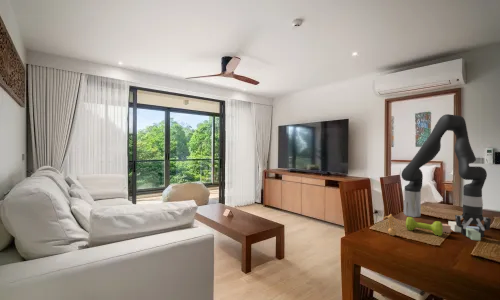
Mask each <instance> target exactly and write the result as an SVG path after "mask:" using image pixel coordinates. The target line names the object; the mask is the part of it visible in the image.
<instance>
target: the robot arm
mask: <svg viewBox="0 0 500 300" xmlns="http://www.w3.org/2000/svg"><path fill="white" fill-rule="evenodd" d="M447 131H450V132H453V133H454V135H455V139H456V141H455V145H454V153H455V156H456V159H457V160H458V161H457V162H458V176H459V177H460V178H461V179H462V180H466V181H471V182H470V183H467V184H464V185H463V187H462V188H463V192H462V193H463V195H462V214H461V215H460V214H459V215H458V214H455V215H454V217H455V222H456V225H457V226H459V227H461V232H460V233H461V234H462V236H465V237H467V236H466V227H467V226H470V225H476V226H477V227H479V233H481V238H484V237H485V231H486V230H487V231H489V230H490V228H491V222H492V219H491V218H489V217H488V216H483V215H484V213H483V210H484V209H483V208H484V207H483V206H484V203H483V201H484V200H483V187H484V184H485V182H486V180H487V175H488V174H487V170H486V169H485V168H484V167H482V166H470V164H472V163H475V162H476V160H477V158H476V155H475V153H474V151H473V148H472V147H471V146H472V145H471V142H470V137H469V134H468V129H467V123H466V119H465V118H464V117H463V116H462V115H458V114H457V115H456V114H443V115H442V116H440V117H439V119H438V121H437V122H436V124H435V125H434V128H433V129H432V131H431V133H430V134H429V136H428V137H427V139H426V140H425V141H424V143H423V144H422V145H421V147H420V148H419V149H418V151H417V152H416V154H415V155H414V156H413V158H412V159H411V161H410V162H409V163H408V164H407V165H406V166H405V167H404V168H403V169H402V171H401V178H402V180H403V181H406V182H409V183H408V184H406V185H405V186H404V200H403V214H404V216H406V217H412V218H420V217H421V216H422V215H421V214H422V213H421V211H422V207H421V206H422V205H421V204H422V203H421V201H422V200H421V198H422V197H421V196H422V195H421V194H422V191H421V190H422V188H423V179H424V178H423V177H424V176H423V172H422V170H421V168H422V167H423V166H425V165H427V163H430V162H431V161H432V160H434V159H435V158H436V156H437V155H438V154H439V152H440V151H441V147H442V144H441V141H442V138H443V136H444V135H445V133H446V132H447ZM462 219H463V221H462ZM461 221H462V222H461ZM482 221H483V222H484V223H483V224H482Z"/></svg>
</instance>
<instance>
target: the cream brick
mask: <svg viewBox="0 0 500 300" xmlns="http://www.w3.org/2000/svg"><path fill="white" fill-rule="evenodd" d="M447 221H448V222H447V223H448V225H450V226H451V231H453V232H455V233H461V227H459V226H457V225H456V221H451V220H447Z"/></svg>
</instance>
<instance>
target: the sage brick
mask: <svg viewBox="0 0 500 300" xmlns="http://www.w3.org/2000/svg"><path fill="white" fill-rule="evenodd" d="M465 237H467V238H468V239H470V240H472V241H481V238H482V237H481V233H479V232H478V231H476V230H474V229H472V228H466V236H465Z"/></svg>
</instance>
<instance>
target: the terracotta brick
mask: <svg viewBox="0 0 500 300" xmlns="http://www.w3.org/2000/svg"><path fill="white" fill-rule="evenodd" d="M442 225H443V233H445V232H446V233H448V234H451V233H452V230H451V226H450V225H448V224H447V223H442ZM446 233H445V234H446Z"/></svg>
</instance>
